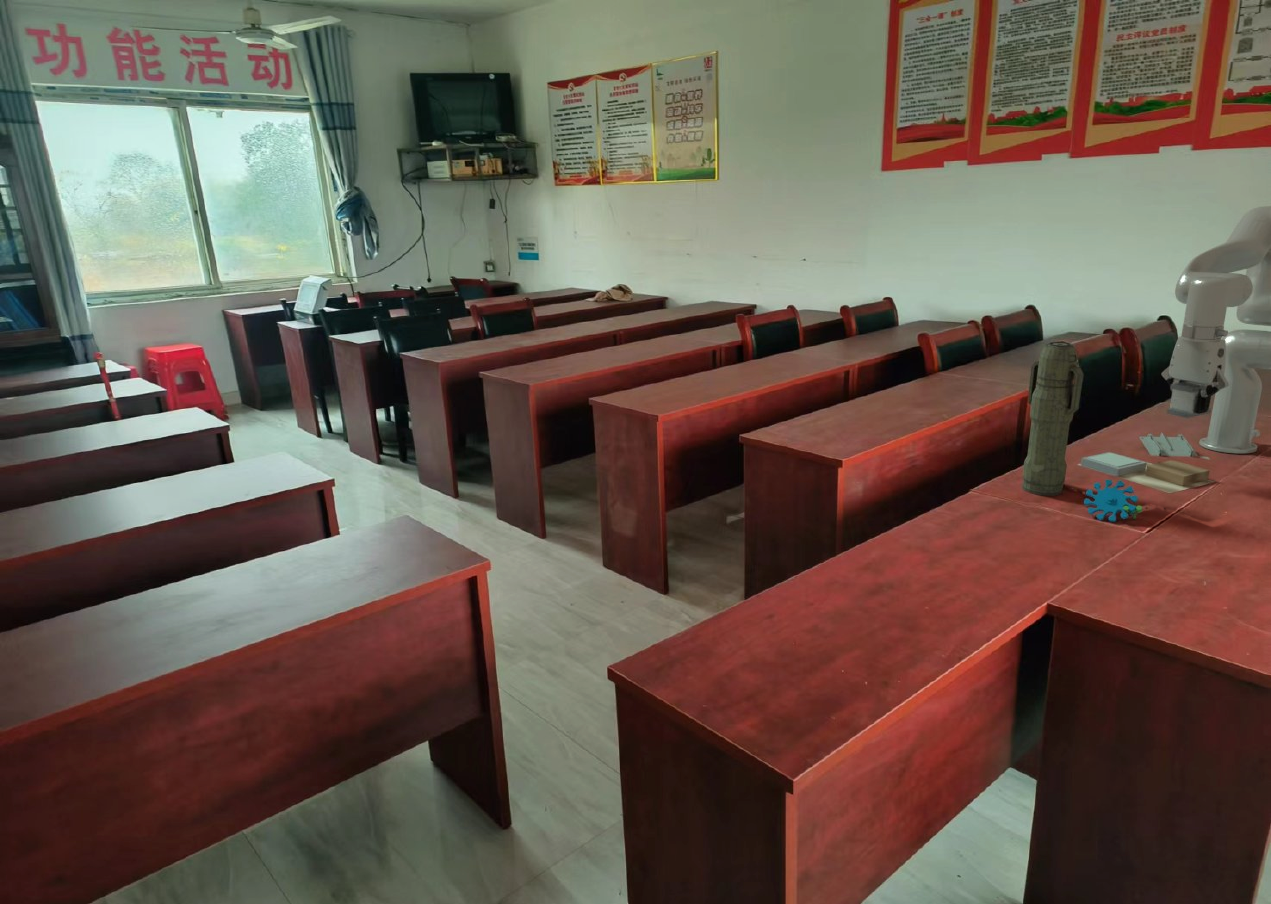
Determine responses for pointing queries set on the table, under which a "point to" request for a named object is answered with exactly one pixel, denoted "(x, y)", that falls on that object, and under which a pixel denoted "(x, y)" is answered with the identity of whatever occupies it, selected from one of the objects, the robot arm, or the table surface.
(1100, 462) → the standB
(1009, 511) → the table surface
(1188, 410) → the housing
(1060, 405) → the thermos
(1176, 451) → the metal bracket
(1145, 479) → the board
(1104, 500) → the gear
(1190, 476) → the stand
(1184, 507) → the table surface
